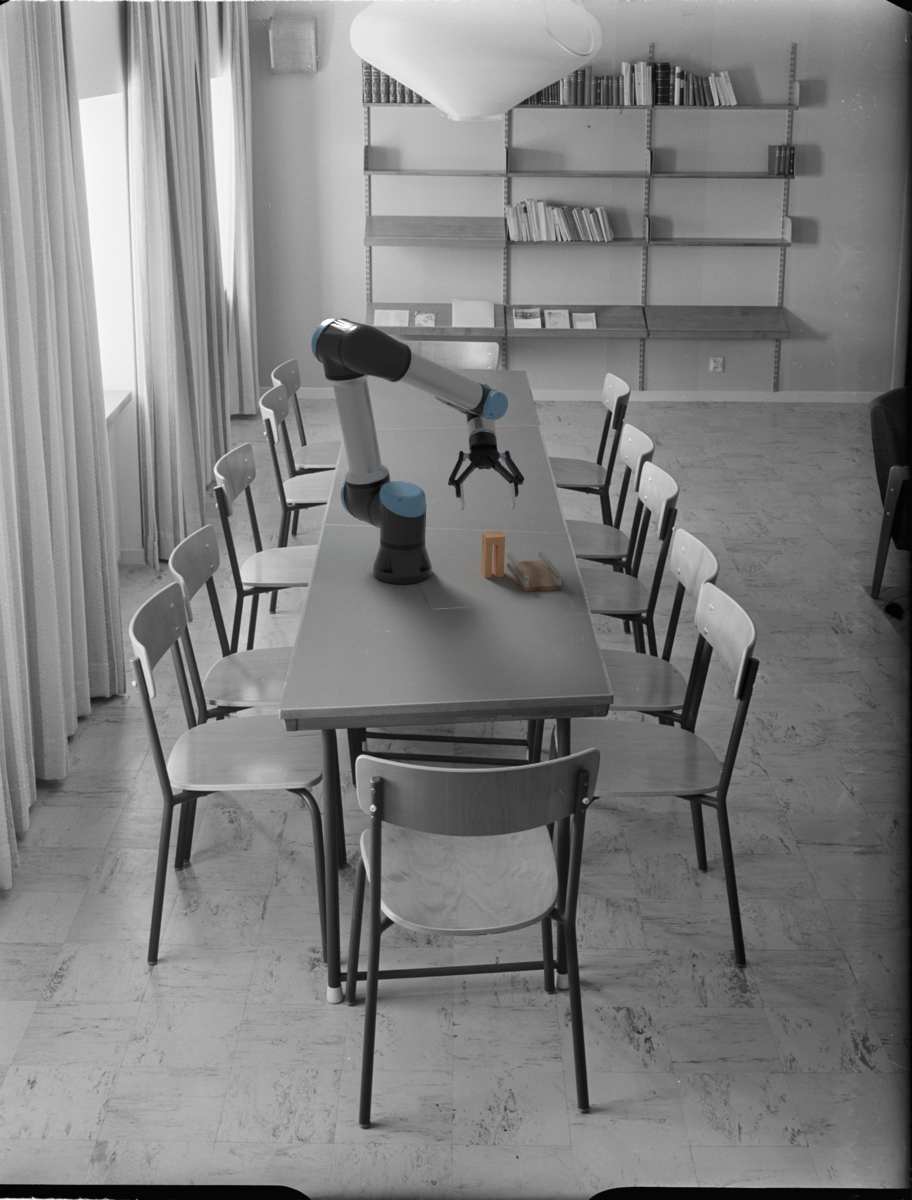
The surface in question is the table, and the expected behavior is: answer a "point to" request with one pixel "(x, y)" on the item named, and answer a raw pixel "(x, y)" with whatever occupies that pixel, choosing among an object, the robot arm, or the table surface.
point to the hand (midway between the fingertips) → (488, 507)
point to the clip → (499, 552)
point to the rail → (535, 573)
